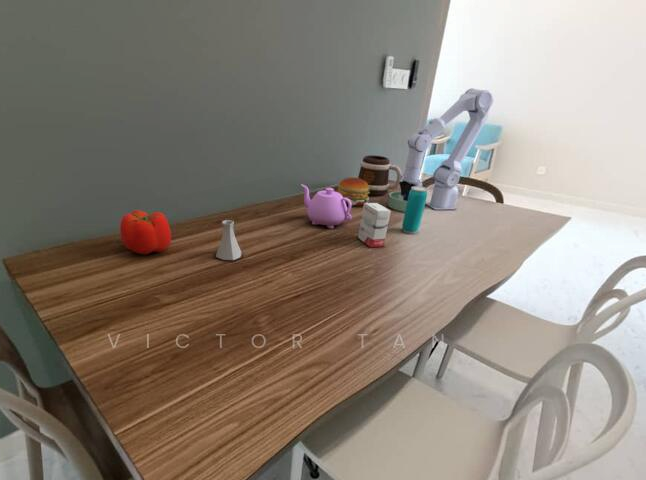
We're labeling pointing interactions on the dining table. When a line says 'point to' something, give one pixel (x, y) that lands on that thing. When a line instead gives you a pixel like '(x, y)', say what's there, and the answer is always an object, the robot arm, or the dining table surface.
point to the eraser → (402, 197)
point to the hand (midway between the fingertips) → (406, 201)
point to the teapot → (327, 207)
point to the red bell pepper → (145, 232)
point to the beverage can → (414, 209)
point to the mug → (378, 174)
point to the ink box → (374, 224)
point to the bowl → (396, 202)
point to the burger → (354, 190)
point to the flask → (228, 243)
